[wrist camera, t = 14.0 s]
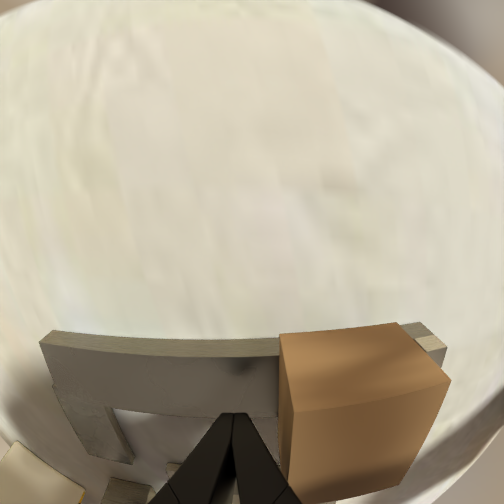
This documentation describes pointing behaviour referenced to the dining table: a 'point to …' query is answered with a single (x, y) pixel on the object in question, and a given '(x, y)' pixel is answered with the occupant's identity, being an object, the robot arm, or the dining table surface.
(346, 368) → the brown block
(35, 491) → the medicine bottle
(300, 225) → the dining table surface
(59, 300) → the dining table surface
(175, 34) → the dining table surface
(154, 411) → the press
